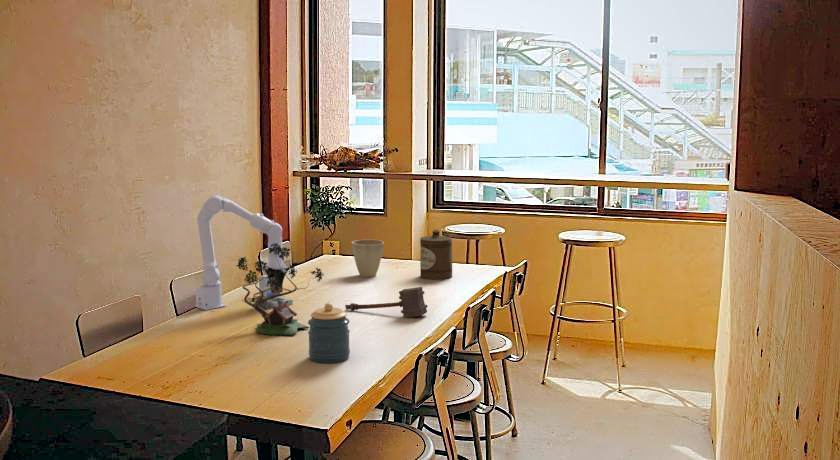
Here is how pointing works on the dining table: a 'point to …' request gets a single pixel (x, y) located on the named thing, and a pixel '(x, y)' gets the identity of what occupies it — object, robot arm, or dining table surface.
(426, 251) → the wooden container
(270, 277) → the block
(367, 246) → the plant pot
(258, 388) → the dining table surface
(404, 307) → the hammer
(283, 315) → the bonsai tree
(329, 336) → the canister
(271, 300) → the bore block
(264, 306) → the rubber stub
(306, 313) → the dining table surface
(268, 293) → the medicine box
